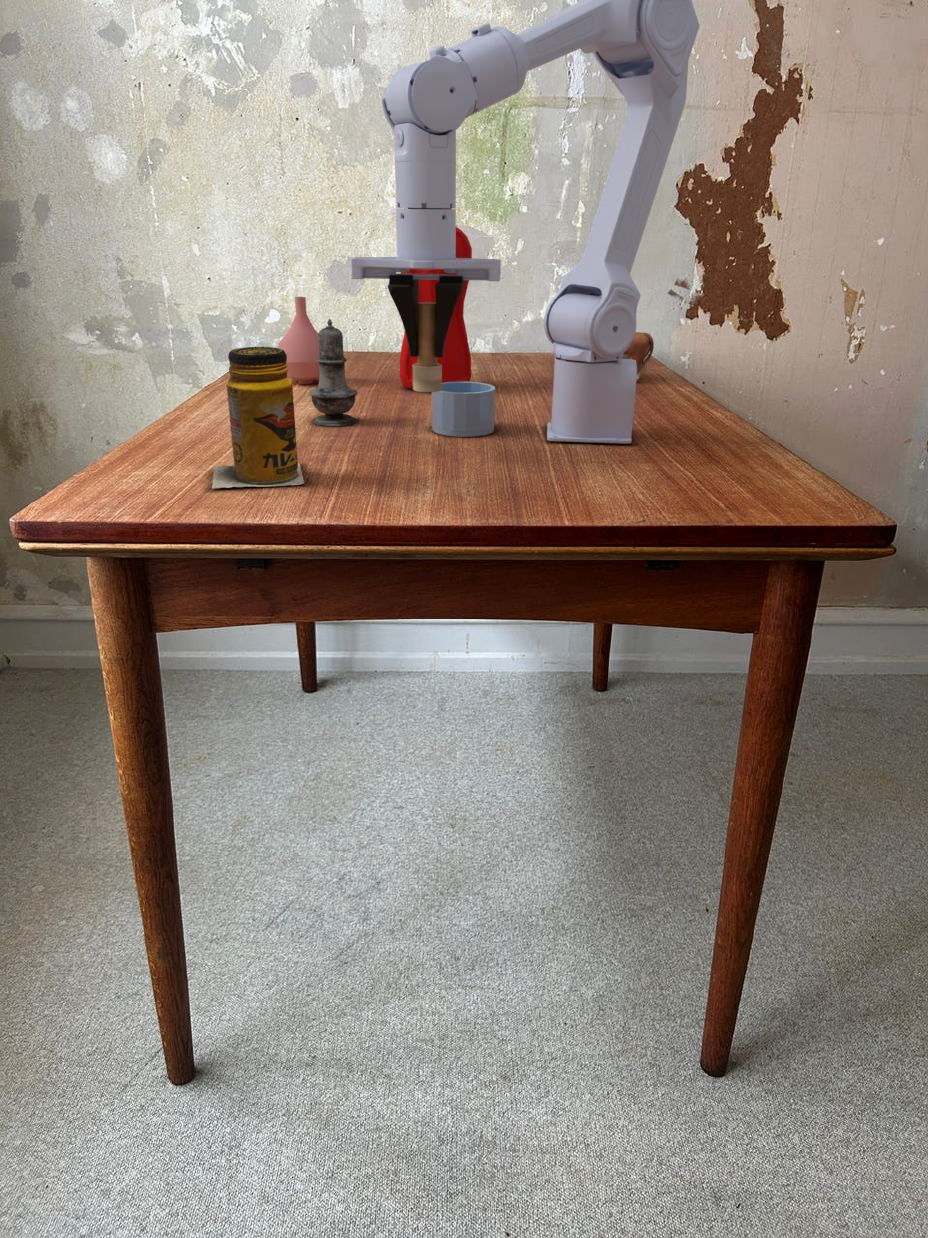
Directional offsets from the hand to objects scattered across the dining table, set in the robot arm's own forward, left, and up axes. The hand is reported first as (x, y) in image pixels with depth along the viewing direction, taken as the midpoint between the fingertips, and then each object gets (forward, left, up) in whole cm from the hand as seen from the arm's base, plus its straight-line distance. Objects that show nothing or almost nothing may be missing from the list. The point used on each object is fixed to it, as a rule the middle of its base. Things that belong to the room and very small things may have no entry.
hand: (427, 355), depth 91 cm
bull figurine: (-23, -52, -11) cm, 58 cm away
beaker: (-3, -12, -10) cm, 16 cm away
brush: (0, 0, -3) cm, 3 cm away
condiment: (+15, +11, -11) cm, 21 cm away
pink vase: (+23, -39, -11) cm, 47 cm away
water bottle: (+3, -39, -11) cm, 41 cm away
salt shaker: (+13, -14, -11) cm, 22 cm away
